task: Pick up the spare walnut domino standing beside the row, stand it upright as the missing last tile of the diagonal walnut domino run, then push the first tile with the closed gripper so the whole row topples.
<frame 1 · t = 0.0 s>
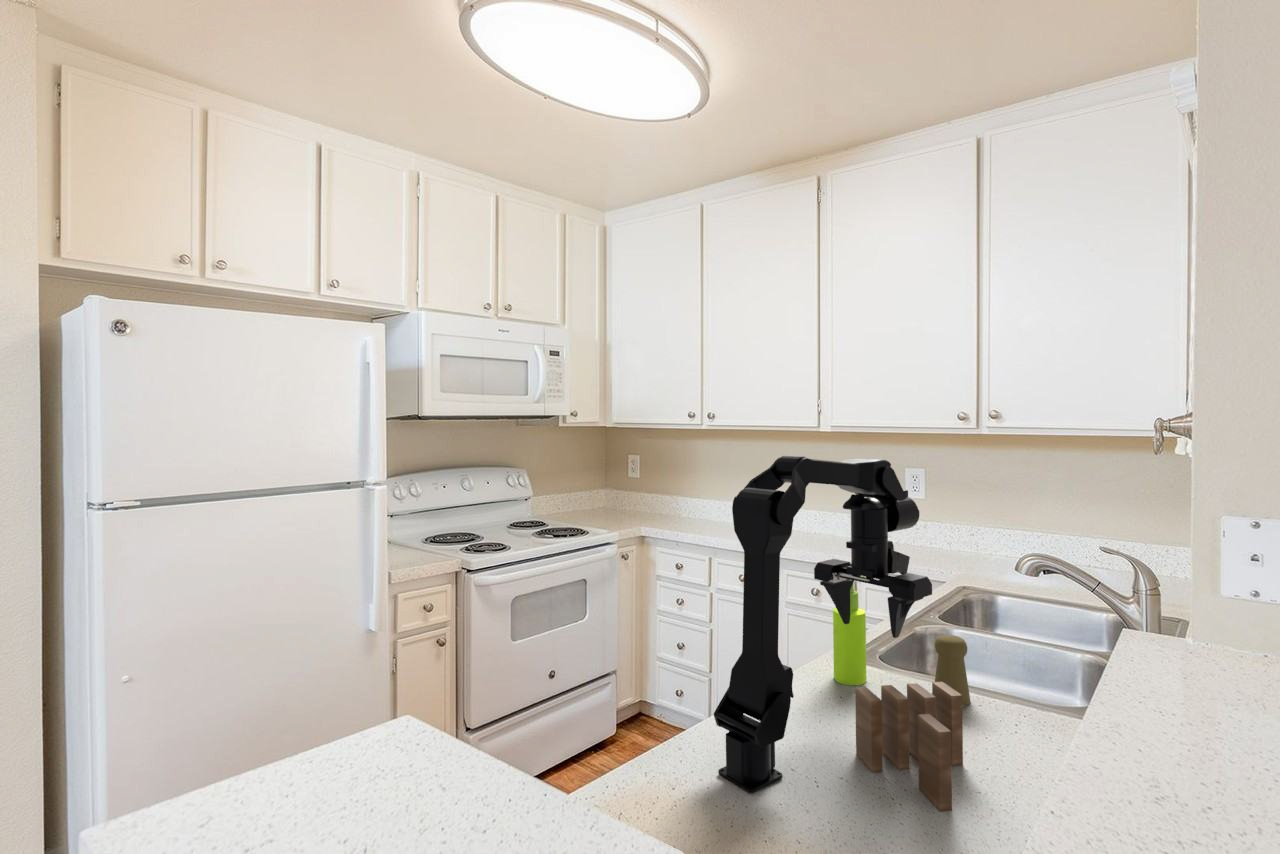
hand: (870, 630, 110), 15 cm above the table, tool pointing down, fingers open, 9 cm apart
soap dispenser: (852, 680, 126), on the table
tile 1: (869, 763, 96), on the table
cork: (951, 700, 117), on the table
tile 4: (947, 756, 97), on the table
tile 3: (921, 758, 97), on the table
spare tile: (935, 799, 87), on the table
tile 2: (895, 761, 96), on the table
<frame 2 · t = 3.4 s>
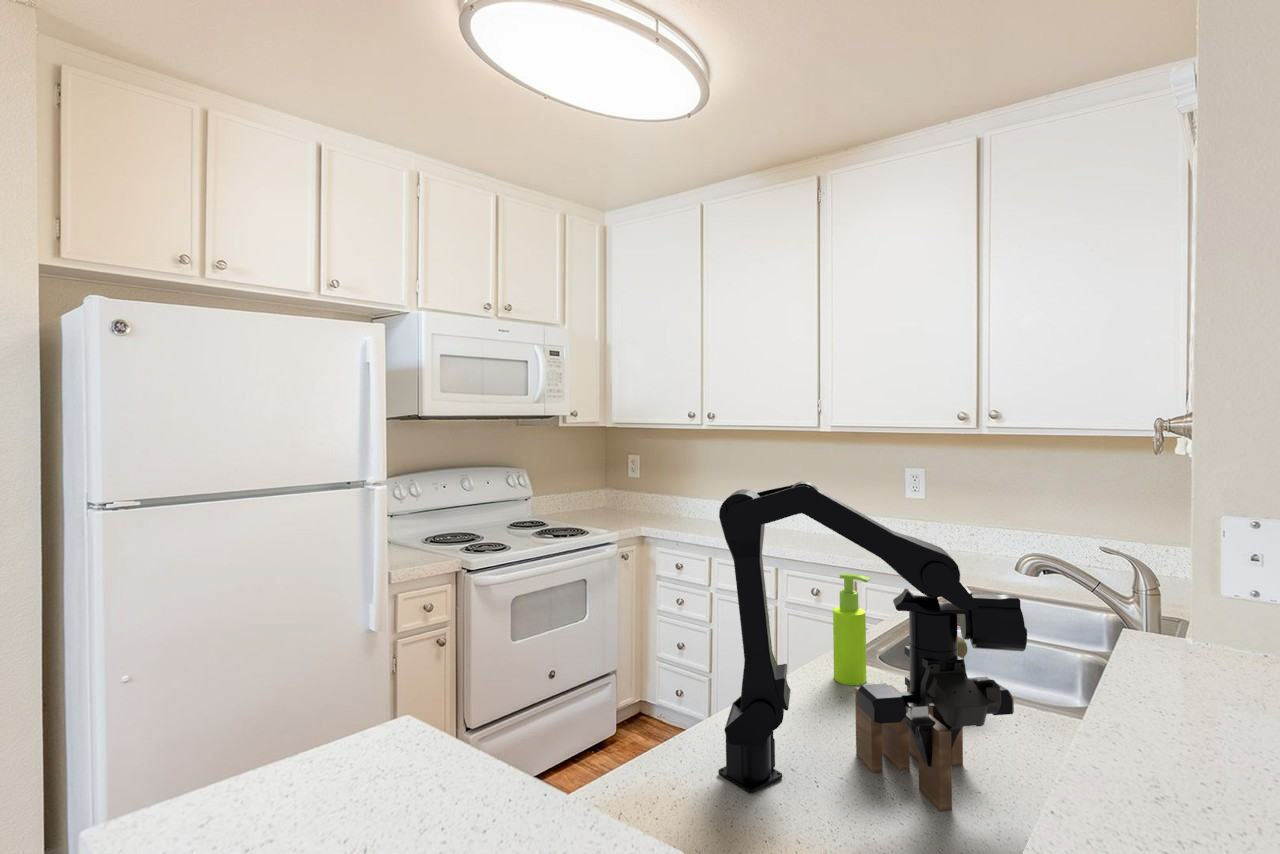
hand: (934, 764, 86), 5 cm above the table, tool pointing down, fingers closed on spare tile, 2 cm apart
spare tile: (935, 799, 87), on the table, touching gripper
everything else where it was.
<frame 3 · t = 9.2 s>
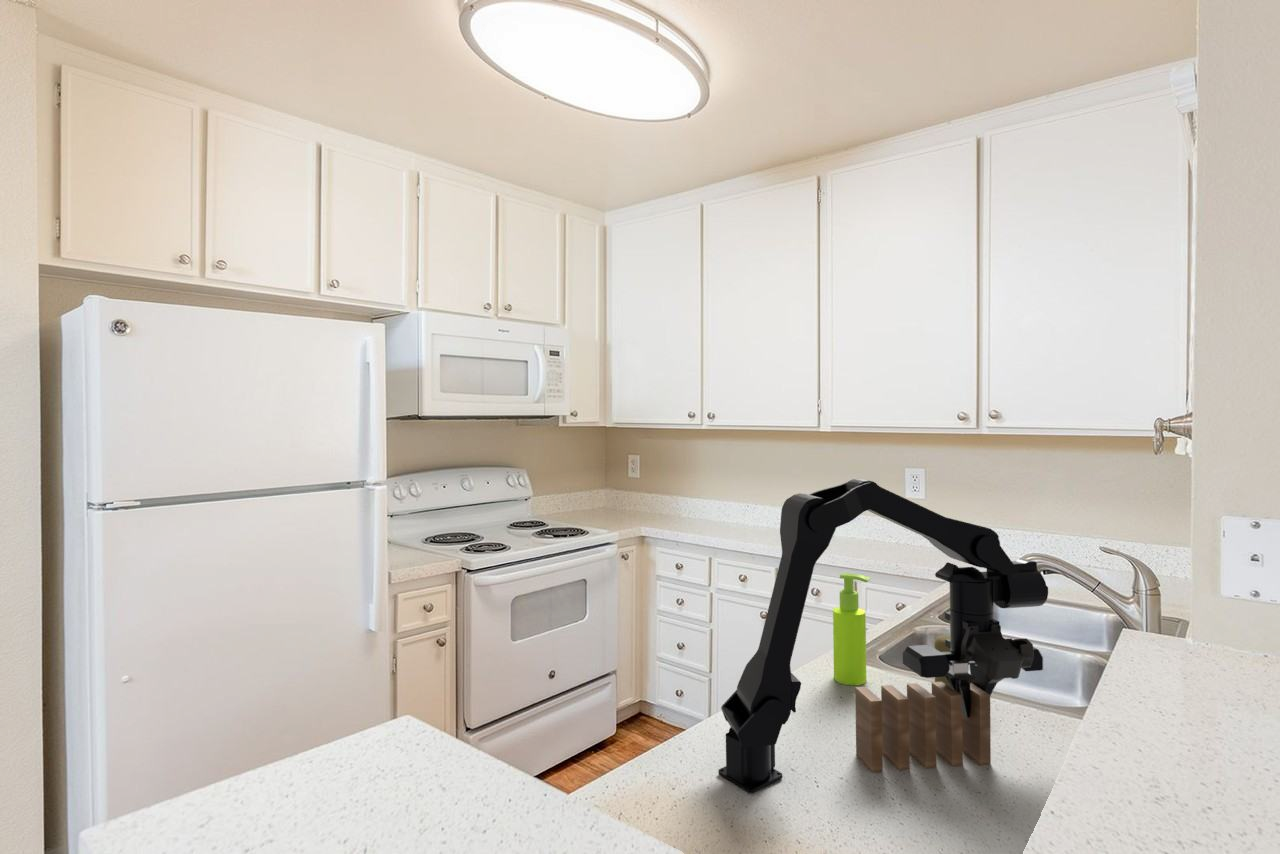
hand: (972, 716, 98), 6 cm above the table, tool pointing down, fingers closed on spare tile, 2 cm apart
tile 4: (947, 756, 97), on the table, touching gripper
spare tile: (974, 756, 97), on the table, touching gripper
everything else where it was.
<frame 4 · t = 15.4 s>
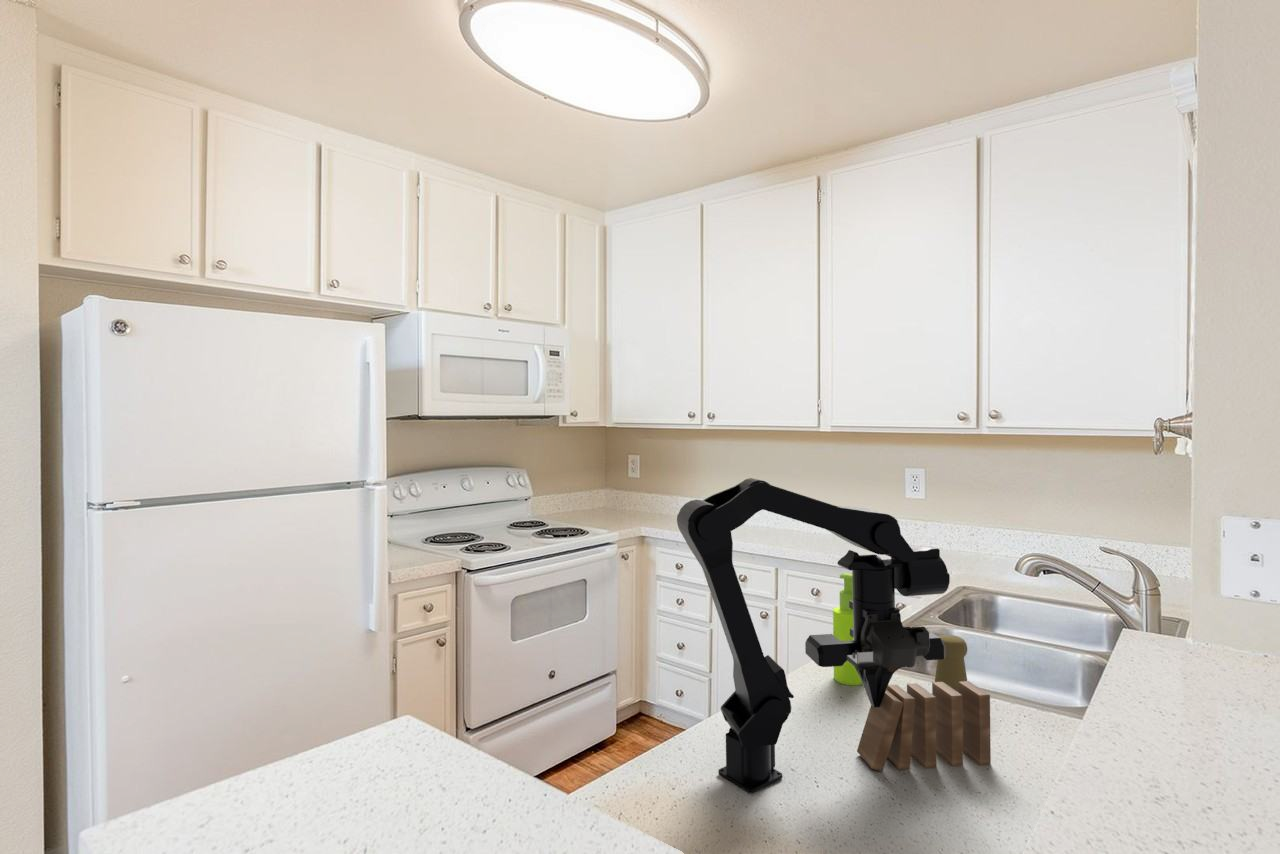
hand: (875, 706, 96), 8 cm above the table, tool pointing down, fingers closed
tile 1: (869, 761, 96), on the table, tilted 19°, touching tile 2
tile 4: (947, 756, 97), on the table
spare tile: (974, 756, 97), on the table
tile 2: (895, 760, 96), on the table, tilted 5°, touching tile 1
everything else where it was.
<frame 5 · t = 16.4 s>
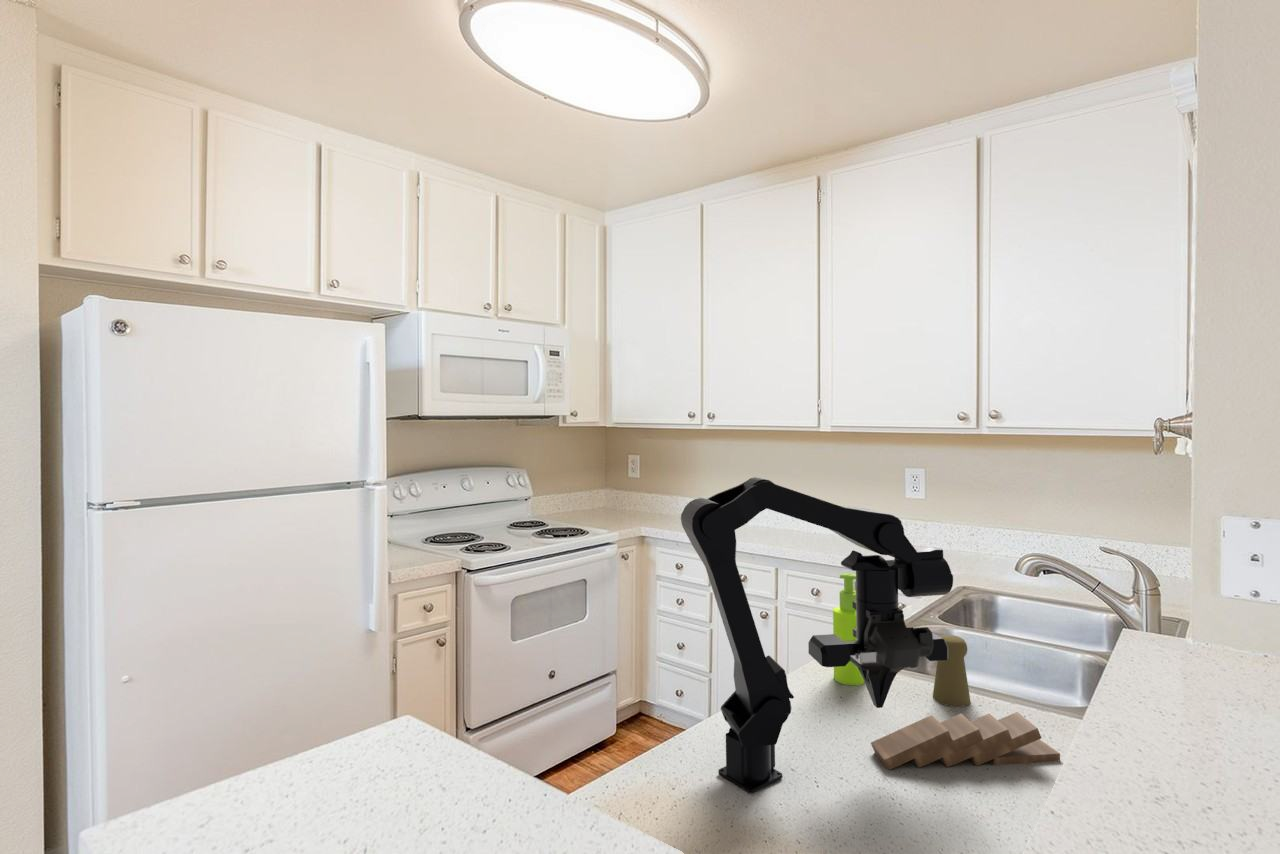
hand: (878, 706, 96), 8 cm above the table, tool pointing down, fingers closed
tile 1: (879, 756, 96), point 1 cm above the table, tilted 68°
tile 4: (965, 751, 97), point 1 cm above the table, tilted 68°, touching tile 3
tile 3: (937, 753, 97), point 1 cm above the table, tilted 68°, touching tile 2, tile 4
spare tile: (983, 754, 97), on the table, tilted 90°
tile 2: (909, 753, 97), point 1 cm above the table, tilted 68°, touching tile 3
everything else where it was.
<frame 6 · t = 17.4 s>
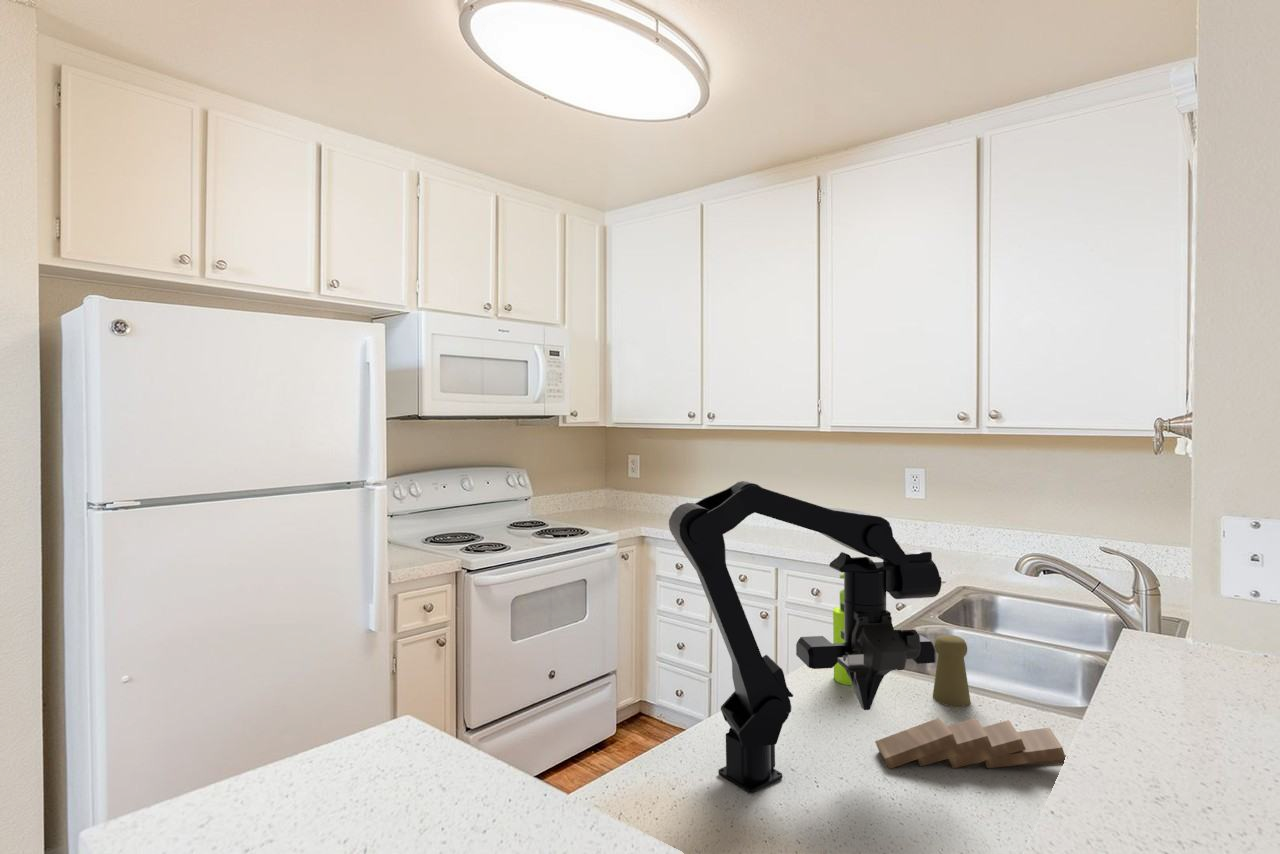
hand: (865, 709, 96), 8 cm above the table, tool pointing down, fingers closed
tile 1: (882, 754, 97), point 1 cm above the table, tilted 68°, touching tile 2
tile 4: (981, 752, 96), point 1 cm above the table, tilted 75°, touching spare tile, tile 3
tile 3: (946, 753, 96), point 1 cm above the table, tilted 69°, touching tile 2, tile 4
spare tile: (990, 757, 97), on the table, tilted 90°, touching tile 4
tile 2: (914, 751, 97), point 1 cm above the table, tilted 69°, touching tile 1, tile 3
everything else where it was.
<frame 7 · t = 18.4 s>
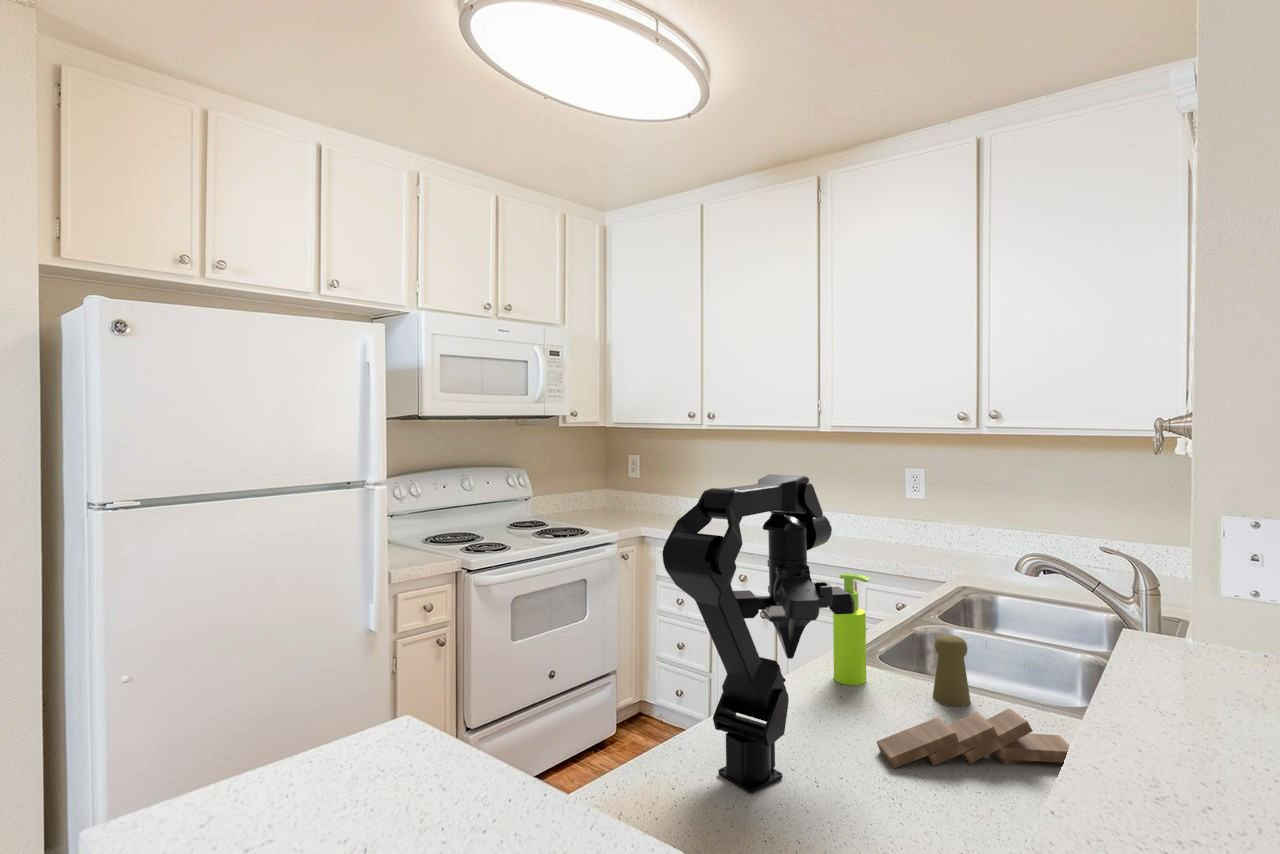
hand: (789, 657, 102), 13 cm above the table, tool pointing down, fingers closed
tile 1: (884, 754, 97), point 1 cm above the table, tilted 70°
tile 4: (993, 744, 97), point 2 cm above the table, tilted 90°, touching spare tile
tile 3: (959, 751, 97), point 1 cm above the table, tilted 63°, touching tile 2
tile 2: (924, 752, 97), point 1 cm above the table, tilted 66°, touching tile 3
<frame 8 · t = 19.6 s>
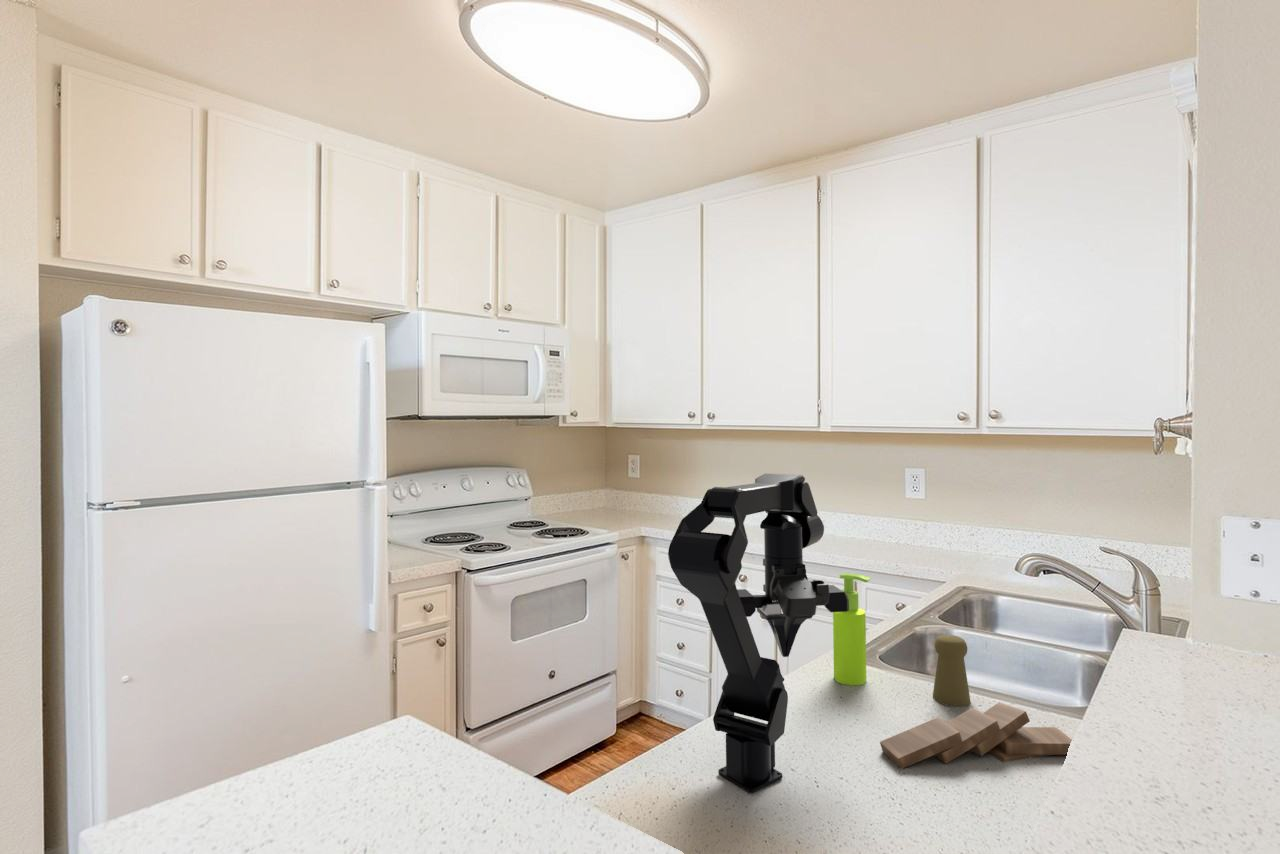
hand: (784, 656, 103), 13 cm above the table, tool pointing down, fingers closed
tile 1: (890, 755, 97), point 1 cm above the table, tilted 73°, touching tile 2
tile 4: (997, 740, 99), point 1 cm above the table, tilted 90°, touching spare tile, tile 3
tile 3: (966, 745, 99), point 1 cm above the table, tilted 70°, touching tile 2, tile 4
tile 2: (932, 750, 97), point 1 cm above the table, tilted 69°, touching tile 1, tile 3
at the end: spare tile inside the target area (2.4 cm from its centre), on the table; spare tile tilted 90°; tile 1 tilted 73° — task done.
